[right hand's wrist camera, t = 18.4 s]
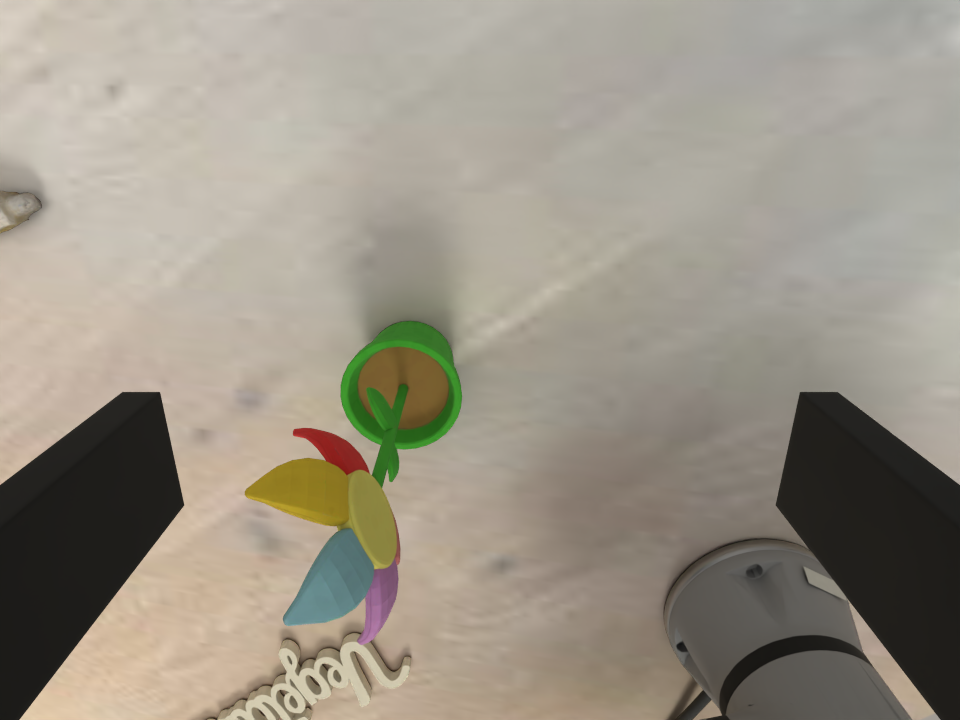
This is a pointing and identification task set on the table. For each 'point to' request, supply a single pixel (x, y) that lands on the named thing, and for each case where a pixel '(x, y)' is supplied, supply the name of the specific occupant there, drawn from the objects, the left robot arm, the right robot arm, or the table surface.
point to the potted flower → (365, 473)
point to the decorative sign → (302, 688)
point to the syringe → (16, 208)
